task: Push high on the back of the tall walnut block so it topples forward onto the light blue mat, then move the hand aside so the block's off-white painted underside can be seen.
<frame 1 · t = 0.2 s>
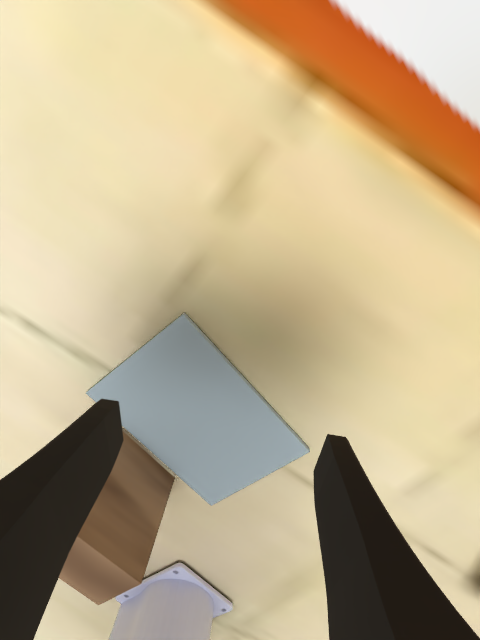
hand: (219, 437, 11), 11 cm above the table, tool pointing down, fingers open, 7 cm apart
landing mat: (199, 419, 24), on the table
block: (133, 462, 26), on the table
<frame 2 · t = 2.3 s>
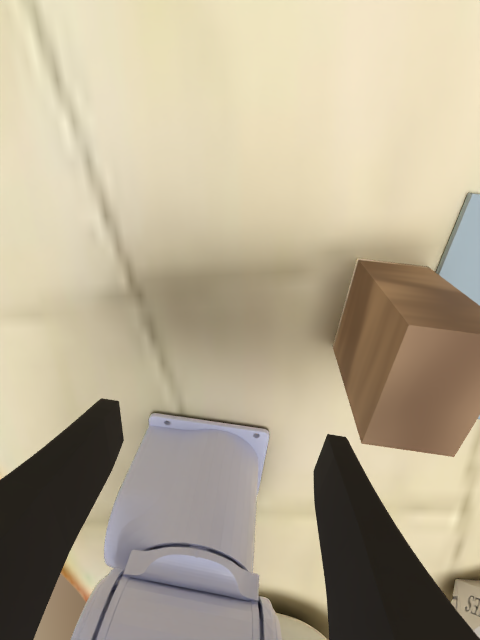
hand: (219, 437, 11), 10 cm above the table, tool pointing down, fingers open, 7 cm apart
die: (478, 585, 33), on the table
serving bowl: (262, 623, 42), on the table
block: (376, 309, 20), on the table
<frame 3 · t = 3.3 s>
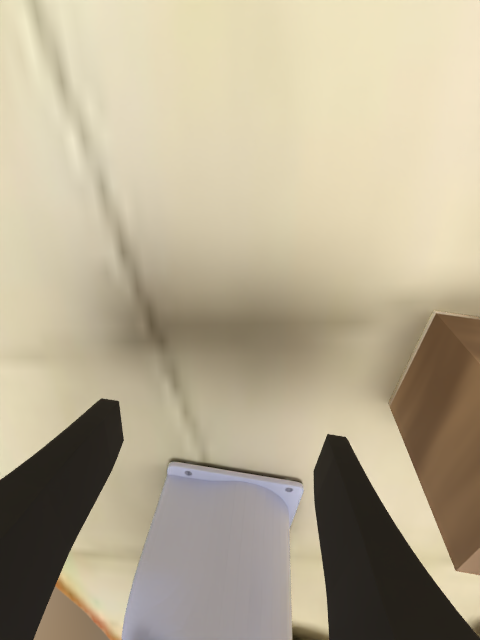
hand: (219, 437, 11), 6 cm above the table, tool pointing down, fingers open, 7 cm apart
block: (448, 366, 16), on the table
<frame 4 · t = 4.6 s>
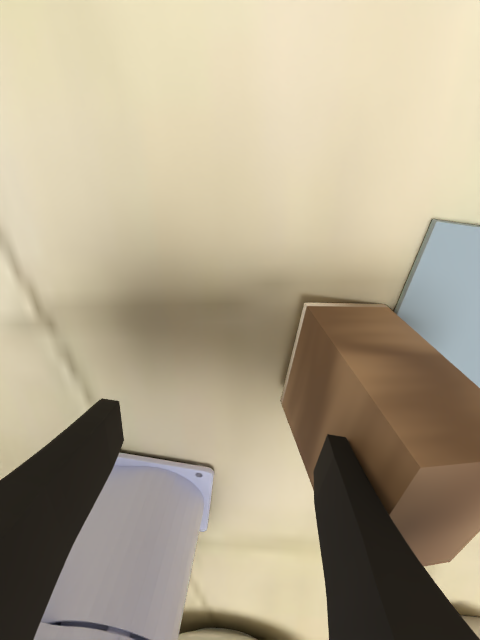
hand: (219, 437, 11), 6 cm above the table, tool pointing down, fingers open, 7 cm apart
die: (445, 617, 31), on the table
serving bowl: (226, 638, 40), on the table
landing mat: (473, 372, 16), on the table
block: (328, 355, 16), point 1 cm above the table, tilted 16°
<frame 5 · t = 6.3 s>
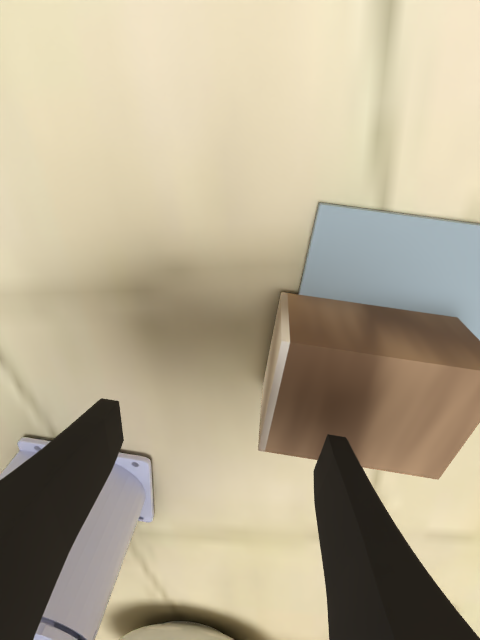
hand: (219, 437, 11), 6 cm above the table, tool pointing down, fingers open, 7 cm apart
serving bowl: (192, 632, 41), on the table
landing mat: (384, 357, 16), on the table
block: (269, 370, 14), point 2 cm above the table, tilted 90°, touching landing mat
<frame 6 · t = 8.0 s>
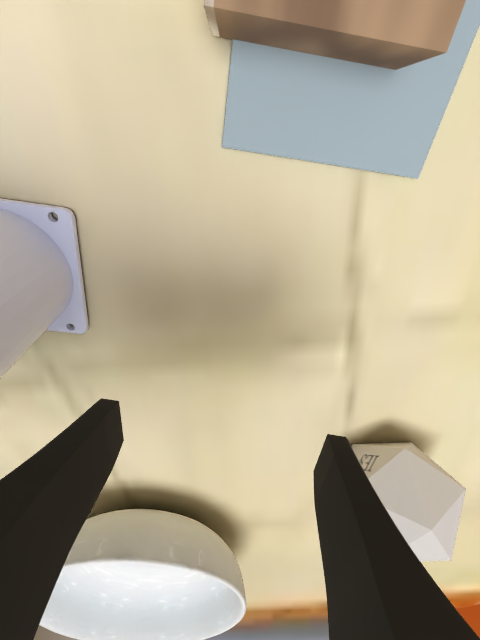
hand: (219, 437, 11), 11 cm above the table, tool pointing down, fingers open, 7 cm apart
die: (377, 451, 29), on the table
serving bowl: (152, 531, 36), on the table
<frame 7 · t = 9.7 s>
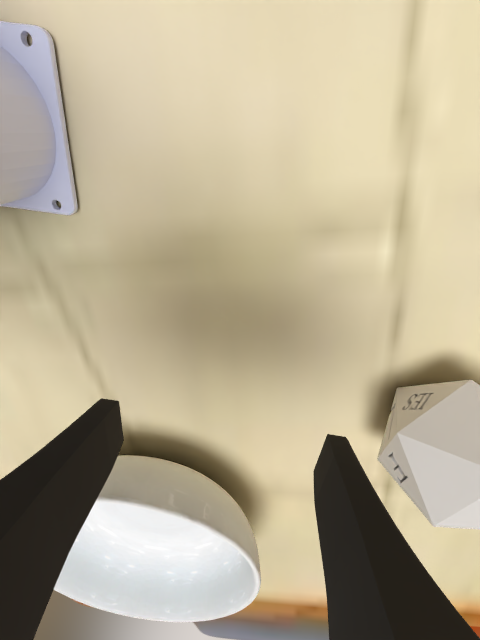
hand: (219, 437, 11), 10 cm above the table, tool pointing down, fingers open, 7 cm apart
die: (430, 401, 23), on the table
serving bowl: (160, 491, 32), on the table
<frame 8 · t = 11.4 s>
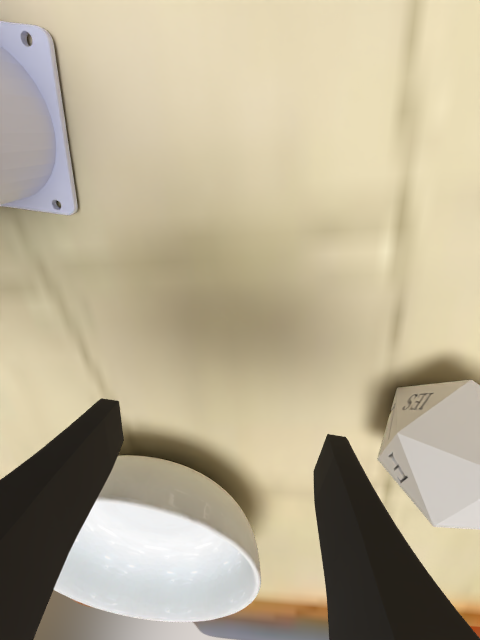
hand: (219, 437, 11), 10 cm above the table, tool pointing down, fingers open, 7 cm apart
die: (430, 401, 23), on the table
serving bowl: (160, 491, 32), on the table
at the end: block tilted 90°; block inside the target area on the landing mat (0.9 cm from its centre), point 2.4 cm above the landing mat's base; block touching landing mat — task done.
